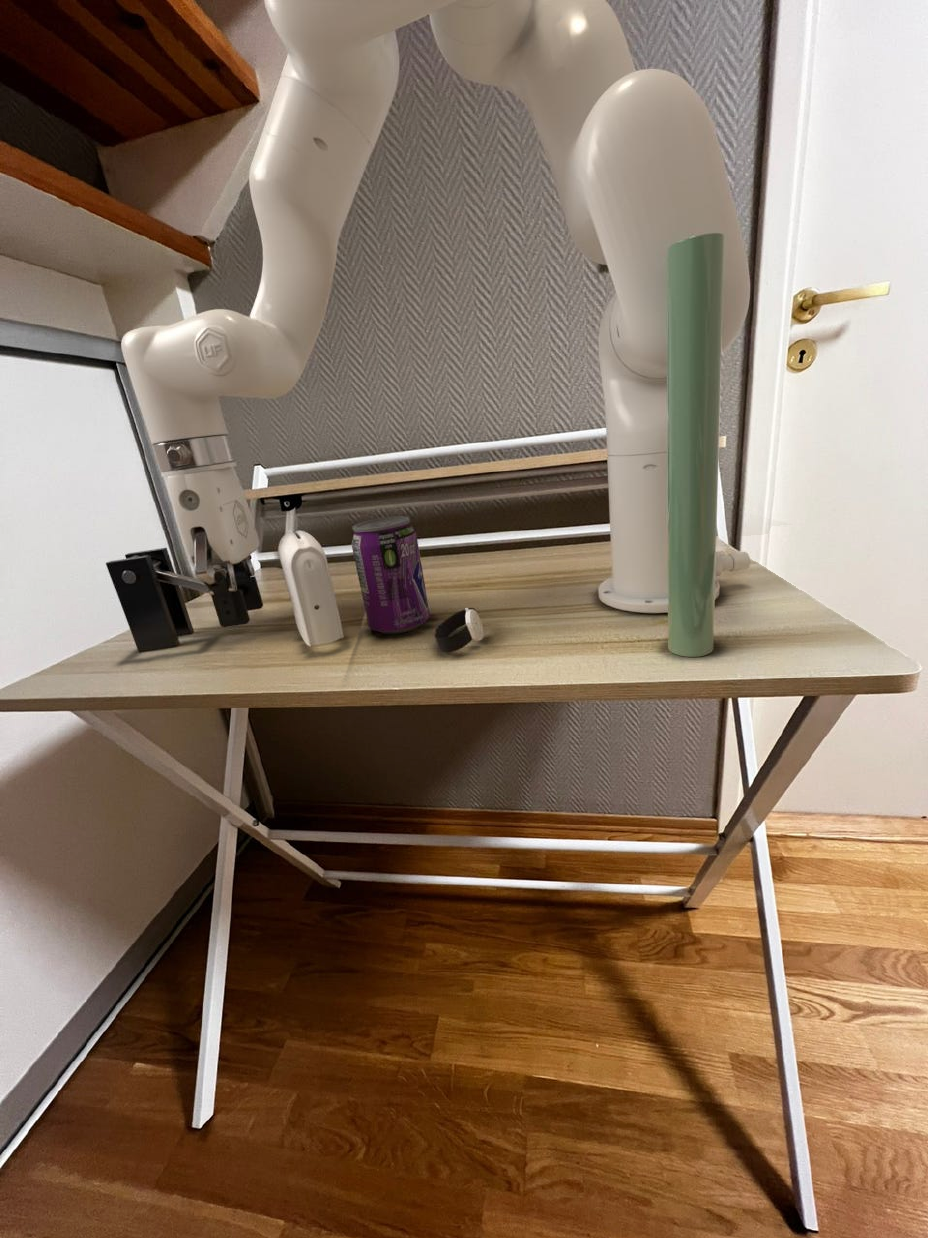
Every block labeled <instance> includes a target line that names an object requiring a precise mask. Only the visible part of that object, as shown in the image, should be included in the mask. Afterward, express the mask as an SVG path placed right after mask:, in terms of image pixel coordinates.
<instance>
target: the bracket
mask: <svg viewBox="0 0 928 1238" xmlns="http://www.w3.org/2000/svg"><path fill="white" fill-rule="evenodd" d="M135 555H137V556H141V557H135V558H130V557H132V556H135ZM124 556H125V558H122V559H121V558H120V559H115V560H114V559H113V560H109V561H107V562H105V566H106V569H107V571H108V575H109V576H110V579H111V583H112V584H113V587H114V590H115V592H116V595H117V598H118V600H119V604H120V606H121V608H122V611H123V614H124V616H125V617H124V618H125V620H126V622H127V624H128V627H129V629H130V633H131V635H132V638H133V641H134V644H135V647H136V649H137V652H138V654H142V653H146V652H153V651H161V650H169V649H175V648H178V647H179V646H180V645H181V641H180V639H179V637H185V636H186V637H187V636H191V635H193V634H194V633H195V630H194V627H193V623H192V620H191V618H190V615H189V612H188V608H187V605H186V603H185V599H184V596H183V593H182V590H181V588H180V587H181V586H179V585H175V584H171V583H167V582H163V581H159V580H158V578H157V575H156V572H155V569H154V566H153V563H152V560H156V561H160V562H161V565H160V569H161V570H165V571H168V572H172V573H176V572H175V569H174V566H173V564H172V560H171V556H170V554H169V551H168V548H167V547H161V548H154V549H148V550H140V551H134V552H129V553H126V554H124ZM151 559H152V560H151Z"/></svg>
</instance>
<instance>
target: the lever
mask: <svg viewBox="0 0 928 1238" xmlns="http://www.w3.org/2000/svg"><path fill="white" fill-rule="evenodd" d="M135 557H141V556H137V555H135V556H132V557H130V558H135ZM151 560H152V559H151ZM152 563H153V566H154V569H155V572H156V575H157V578H158V580H159V581H163V582H167V583H171V584H175V585H179V587H182V588H187V589H191V590H193V591H197V592H198V591H199V592H202V593H205V594H209V593H208V590H207V586H206V585H205V584H204V582H203V581H202V580H201V579H199V578H194V577H191V576H187V575H184V574H179V573H176V572H175V573H172V572H168V571H165V570H161V569H160V565H161V562H160V561H156V560H152ZM237 589H241V591H242V594H243V597H244V596H245V595H246V594H247V593H248V588H247V586H245V585H239V586H238V587H237Z"/></svg>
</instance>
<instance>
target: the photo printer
mask: <svg viewBox="0 0 928 1238" xmlns="http://www.w3.org/2000/svg"><path fill="white" fill-rule="evenodd" d="M277 554H278V559H279V562H280V565H281V568H282V573H283V576H284V580H285V583H286V588H287V591H288V595H289V600H290V603H291V608H292V611H293V615H294V619H295V624H296V628H297V630H298V632H299V635H300V637H301V638H302V640H303V641H304V643H305V644H306V645H307V646H308V647H314V646H322V645H327V644H331V643H334V642H336V641H338V640H340V639H344V637H345V636H344V630H343V625H342V620H341V616H340V612H339V607H338V602H337V598H336V593H335V589H334V584H333V580H332V576H331V571H330V567H329V563H328V559H327V555H326V553H325V550H324V548H323V546H322V545H321V543H320V542H319V541H318V540H317V539H316V538H315V537H314V536H313V535H312V534H310V533H308V531H304V530H301V529H300V530H299V529H298V530H296V531H295V532H292V531H288V532H286V533H285V534H283V536H282V537H281V538H280V541H279V542H278V547H277Z"/></svg>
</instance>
